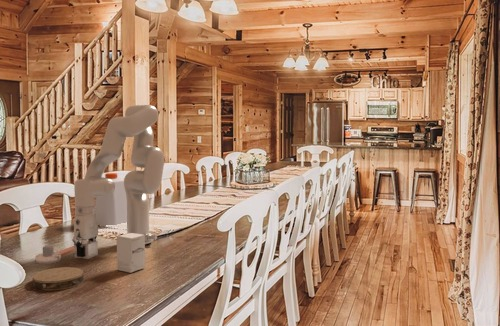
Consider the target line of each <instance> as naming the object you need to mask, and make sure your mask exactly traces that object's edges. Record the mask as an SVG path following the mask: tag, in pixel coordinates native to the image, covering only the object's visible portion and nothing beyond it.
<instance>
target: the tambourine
mask: <svg viewBox="0 0 500 326" xmlns="http://www.w3.org/2000/svg"><path fill="white" fill-rule="evenodd" d="M83 282H84V270H83V269H81V268H78V267H71V266H69V267H67V266H66V267H64V266H63V267H62V266H61V267H53V268H48V269H45V270H40V271H37V272H36V273H34V274H33V276H32V285H33V287H34V288H35V289H39V290H41V291H61V290H66V289H71V288H75V287H78V286H79V285H81V284H82V283H83Z"/></svg>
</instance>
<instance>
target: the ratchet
mask: <svg viewBox="0 0 500 326" xmlns="http://www.w3.org/2000/svg"><path fill="white" fill-rule="evenodd" d="M71 254H74V245H73V246H70V247H67V248H64V249H61V250H59V251H54V245H49V244H48V245H44V246H43V247H42V253H39V254H37V255H35V264H38V265H52V264H56V263H58V262H60V261H62V258H64V257H66V256H68V255H71Z"/></svg>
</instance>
